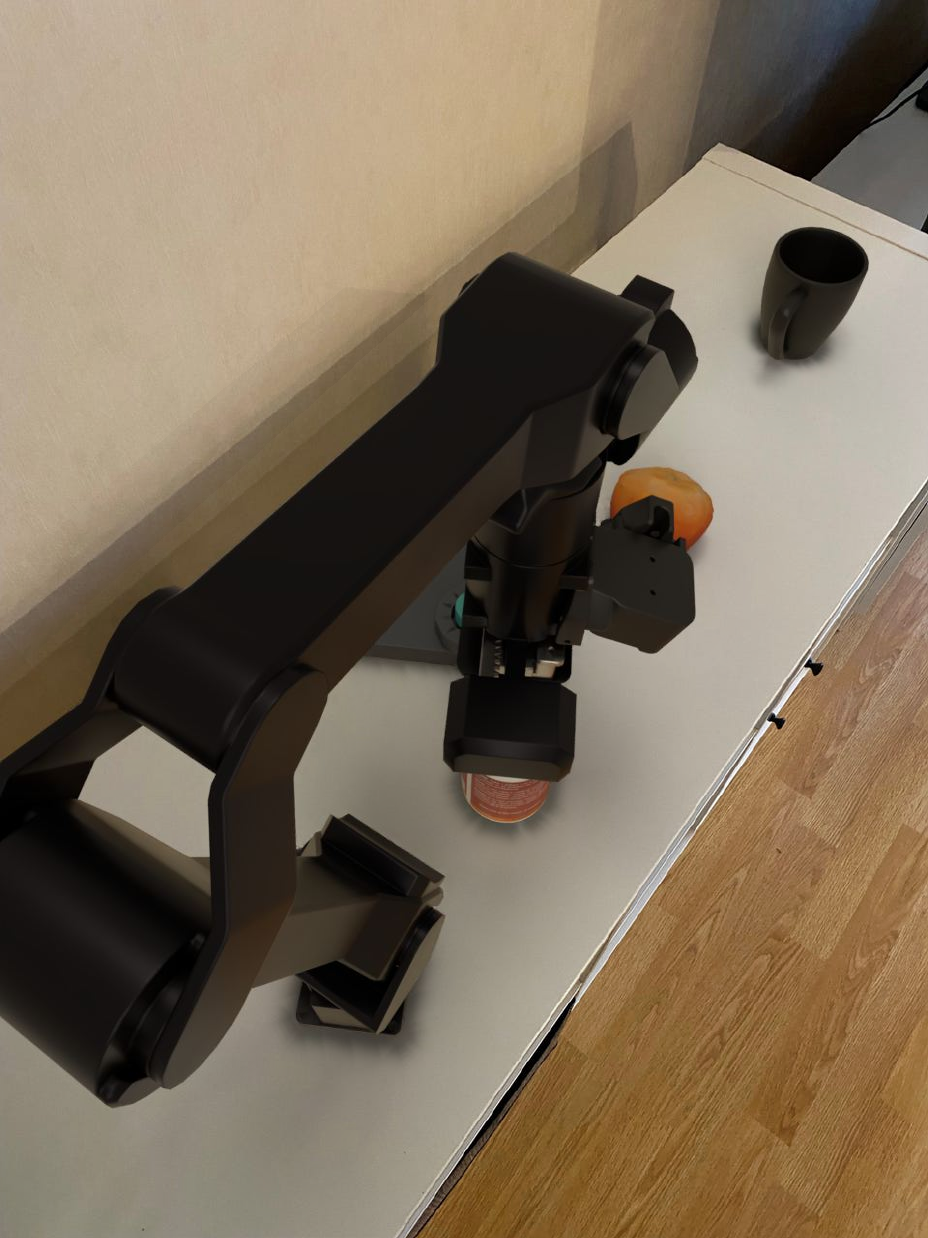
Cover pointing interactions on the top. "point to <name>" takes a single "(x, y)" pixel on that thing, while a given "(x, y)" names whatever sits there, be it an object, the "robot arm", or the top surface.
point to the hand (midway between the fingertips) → (509, 682)
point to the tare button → (459, 610)
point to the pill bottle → (504, 796)
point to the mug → (809, 289)
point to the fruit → (667, 498)
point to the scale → (428, 621)
